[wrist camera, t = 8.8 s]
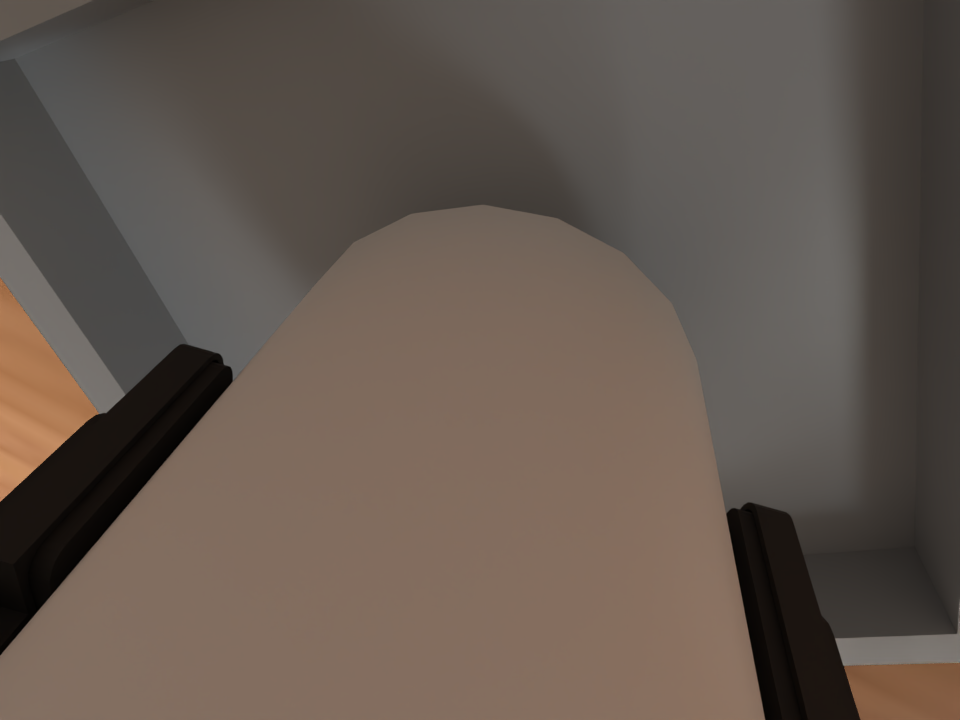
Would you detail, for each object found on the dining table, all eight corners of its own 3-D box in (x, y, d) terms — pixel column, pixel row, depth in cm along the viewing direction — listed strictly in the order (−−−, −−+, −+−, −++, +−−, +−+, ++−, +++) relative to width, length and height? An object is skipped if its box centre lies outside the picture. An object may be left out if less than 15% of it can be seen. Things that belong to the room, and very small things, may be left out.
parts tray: (950, 552, 17) (1009, 661, 14) (329, 596, 22) (293, 680, 20) (1005, -458, 8) (1177, -631, 6) (-30, 17, 14) (-175, 37, 11)
